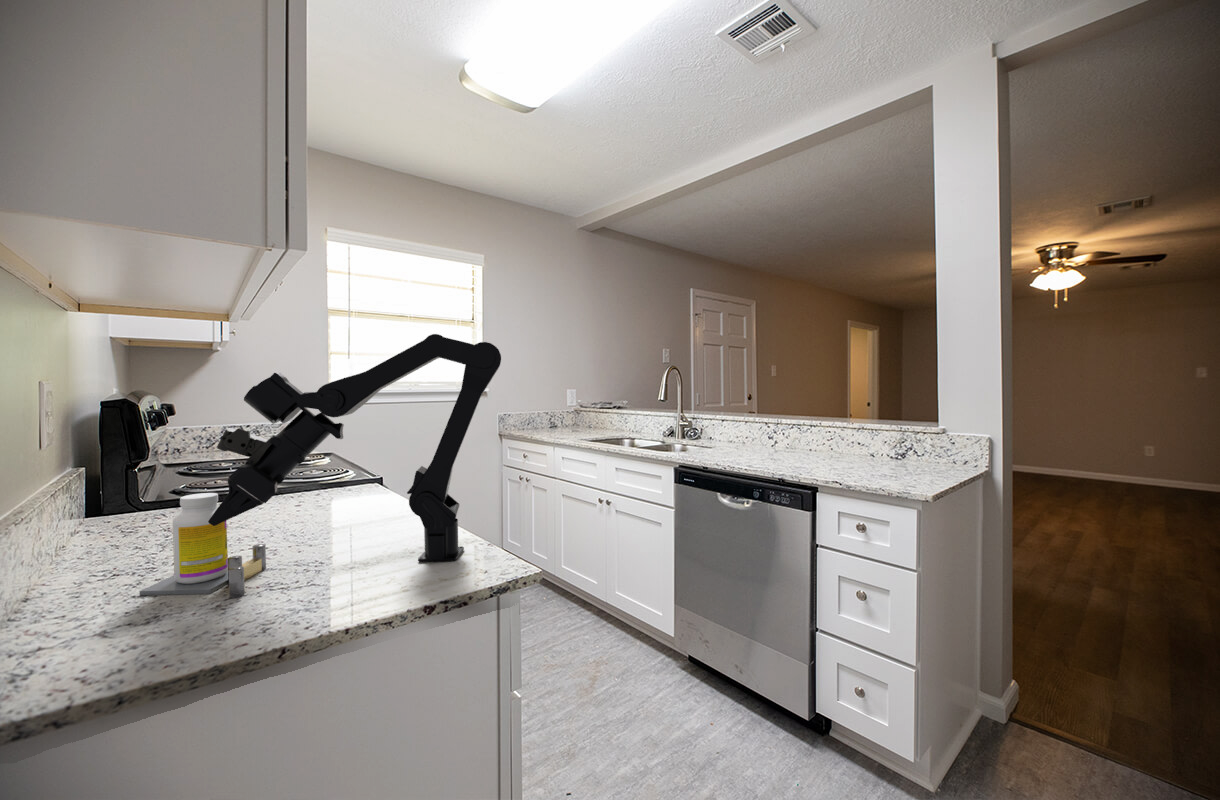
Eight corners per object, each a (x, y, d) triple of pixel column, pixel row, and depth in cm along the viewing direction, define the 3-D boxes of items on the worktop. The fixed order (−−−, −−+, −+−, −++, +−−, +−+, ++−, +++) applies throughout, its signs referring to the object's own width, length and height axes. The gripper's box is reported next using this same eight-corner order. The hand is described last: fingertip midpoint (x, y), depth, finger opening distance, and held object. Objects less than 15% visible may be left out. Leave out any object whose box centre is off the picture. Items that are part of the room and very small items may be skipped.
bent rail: (257, 567, 88) (256, 543, 88) (289, 566, 88) (289, 543, 88) (201, 598, 75) (200, 571, 75) (239, 597, 75) (238, 570, 75)
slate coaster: (191, 570, 86) (191, 567, 86) (253, 569, 87) (253, 565, 87) (139, 595, 76) (139, 591, 76) (210, 593, 77) (210, 589, 77)
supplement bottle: (236, 574, 83) (233, 494, 82) (185, 588, 77) (182, 502, 77) (217, 567, 86) (214, 489, 86) (167, 579, 81) (164, 497, 80)
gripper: (260, 407, 92) (184, 476, 88) (244, 412, 76) (149, 496, 71) (313, 448, 96) (243, 516, 92) (308, 461, 80) (223, 544, 75)
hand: (217, 517), depth 82 cm, fingers open, 9 cm apart
